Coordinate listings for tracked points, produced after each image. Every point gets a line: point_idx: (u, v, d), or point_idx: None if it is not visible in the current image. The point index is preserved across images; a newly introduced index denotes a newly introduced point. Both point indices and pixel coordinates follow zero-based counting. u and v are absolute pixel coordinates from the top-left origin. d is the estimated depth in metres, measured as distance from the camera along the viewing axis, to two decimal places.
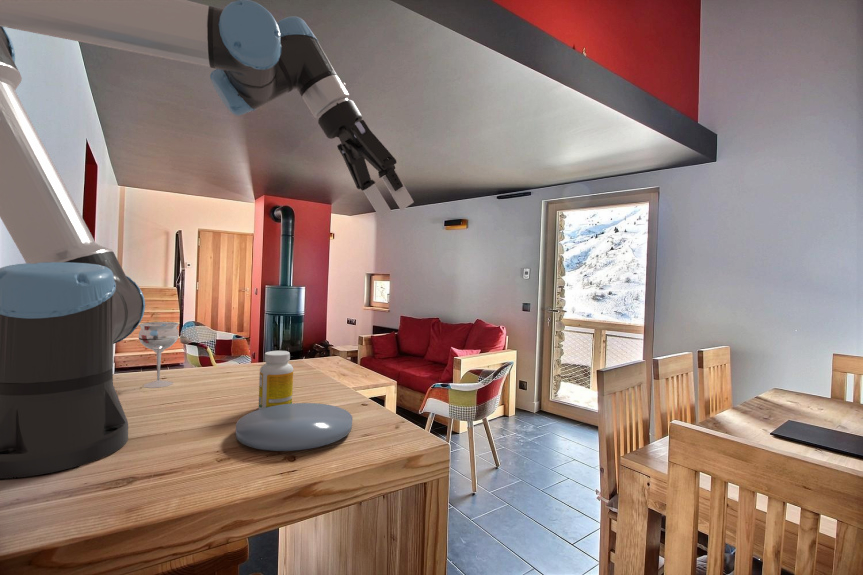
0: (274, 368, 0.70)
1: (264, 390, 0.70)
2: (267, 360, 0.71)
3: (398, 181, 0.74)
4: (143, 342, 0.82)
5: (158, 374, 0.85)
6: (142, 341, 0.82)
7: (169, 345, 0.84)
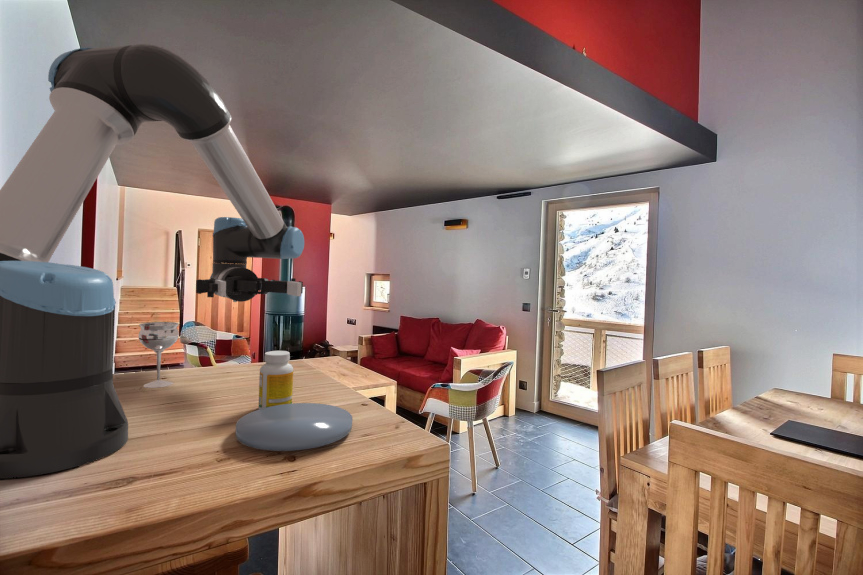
0: (274, 368, 0.70)
1: (264, 390, 0.70)
2: (267, 360, 0.71)
3: None
4: (143, 342, 0.82)
5: (158, 374, 0.85)
6: (142, 341, 0.82)
7: (169, 345, 0.84)
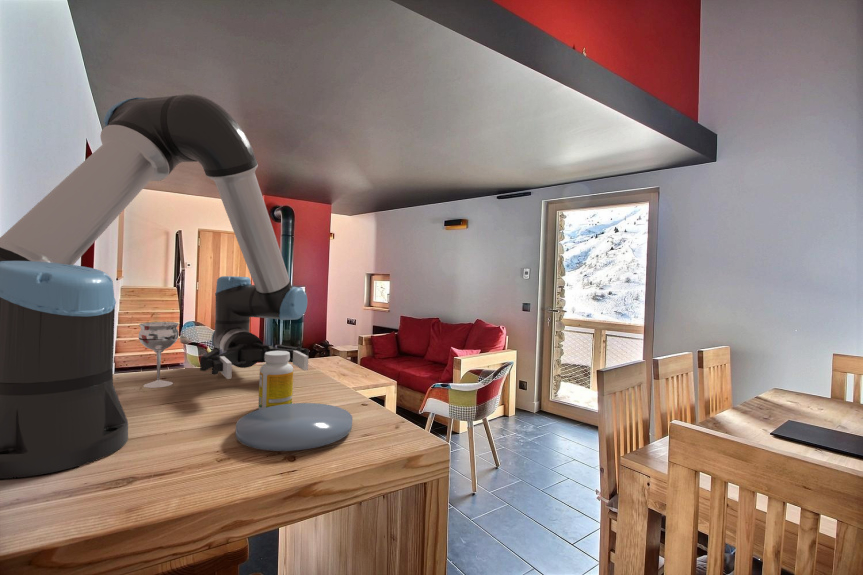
0: (274, 368, 0.70)
1: (264, 390, 0.70)
2: (267, 360, 0.71)
3: None
4: (143, 342, 0.82)
5: (158, 374, 0.85)
6: (142, 341, 0.82)
7: (169, 345, 0.84)
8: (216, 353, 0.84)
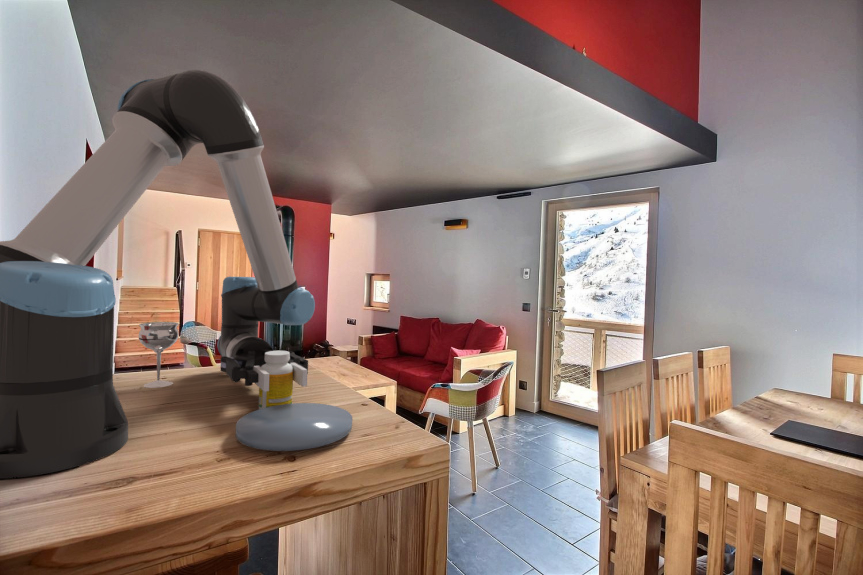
0: (273, 368, 0.70)
1: None
2: (267, 360, 0.71)
3: None
4: (143, 342, 0.82)
5: (158, 374, 0.85)
6: (142, 341, 0.82)
7: (169, 345, 0.84)
8: None
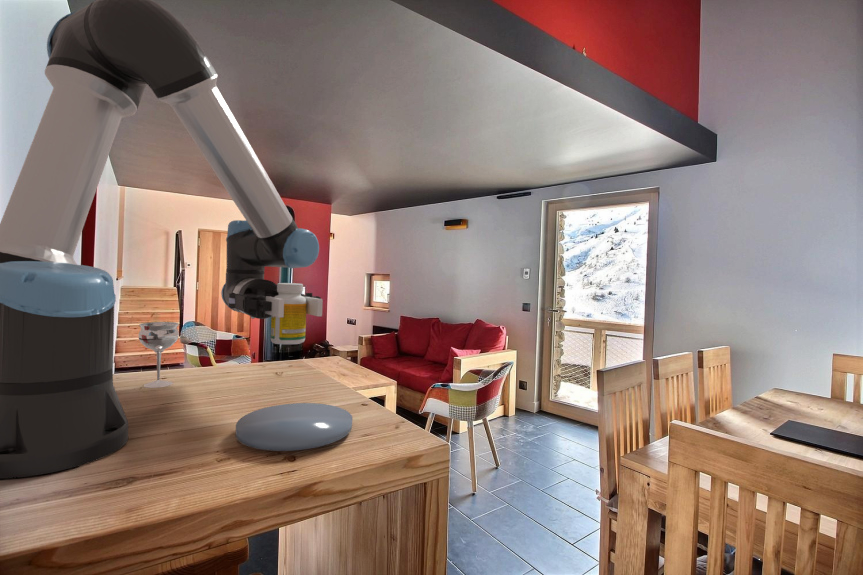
0: (287, 297, 0.68)
1: (277, 320, 0.67)
2: (280, 289, 0.68)
3: None
4: (143, 342, 0.82)
5: (158, 374, 0.85)
6: (142, 341, 0.82)
7: (169, 345, 0.84)
8: None
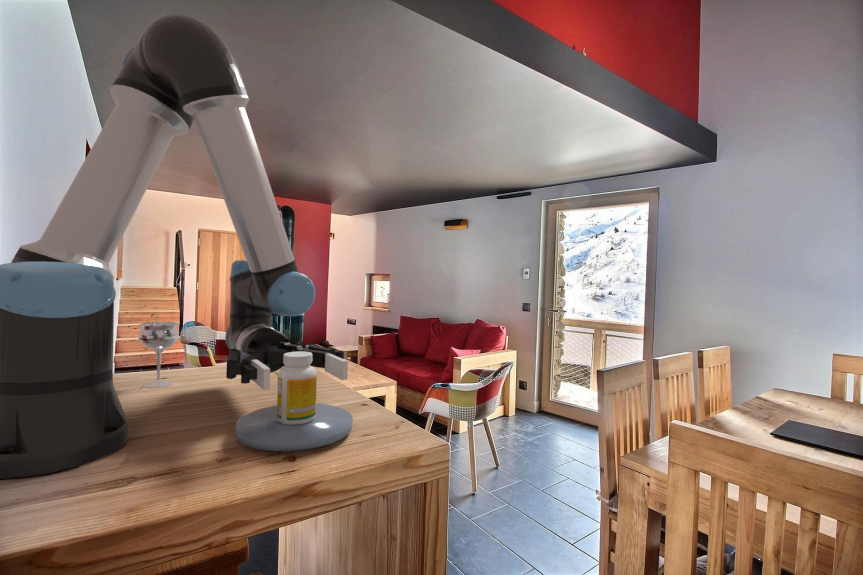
0: (295, 372, 0.60)
1: (284, 398, 0.60)
2: (287, 362, 0.60)
3: None
4: (143, 342, 0.82)
5: (158, 374, 0.85)
6: (142, 341, 0.82)
7: (169, 345, 0.84)
8: (239, 355, 0.65)
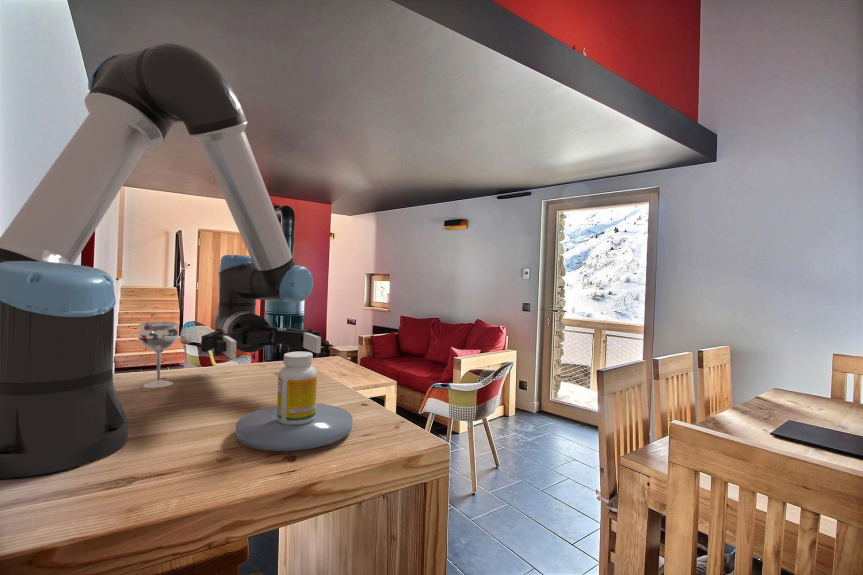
0: (295, 372, 0.60)
1: (284, 398, 0.60)
2: (287, 362, 0.60)
3: None
4: (143, 342, 0.82)
5: (158, 374, 0.85)
6: (142, 341, 0.82)
7: (169, 345, 0.84)
8: (219, 334, 0.76)
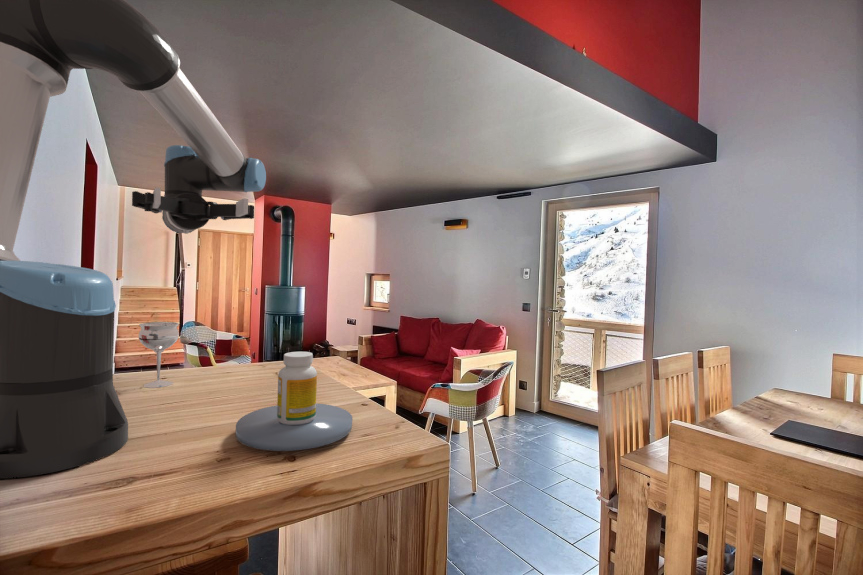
0: (294, 372, 0.60)
1: (284, 398, 0.60)
2: (287, 362, 0.60)
3: (248, 211, 0.83)
4: (143, 342, 0.82)
5: (158, 374, 0.85)
6: (142, 341, 0.82)
7: (169, 345, 0.84)
8: None
